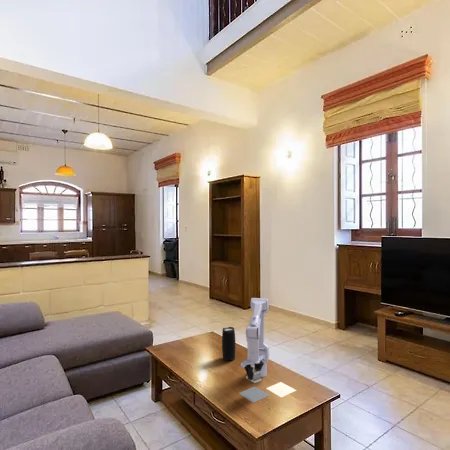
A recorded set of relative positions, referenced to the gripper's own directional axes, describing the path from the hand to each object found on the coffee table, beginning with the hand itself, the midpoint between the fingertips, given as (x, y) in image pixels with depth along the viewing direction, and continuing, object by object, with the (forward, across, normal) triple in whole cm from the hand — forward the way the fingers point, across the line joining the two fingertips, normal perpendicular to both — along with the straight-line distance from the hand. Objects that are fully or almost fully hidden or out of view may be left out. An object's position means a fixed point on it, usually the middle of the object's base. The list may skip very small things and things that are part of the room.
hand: (253, 377), depth 158 cm
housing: (+1, 0, 0) cm, 1 cm away
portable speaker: (+10, +17, +44) cm, 48 cm away
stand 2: (+10, +14, -5) cm, 18 cm away
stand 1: (+10, 0, 0) cm, 10 cm away
